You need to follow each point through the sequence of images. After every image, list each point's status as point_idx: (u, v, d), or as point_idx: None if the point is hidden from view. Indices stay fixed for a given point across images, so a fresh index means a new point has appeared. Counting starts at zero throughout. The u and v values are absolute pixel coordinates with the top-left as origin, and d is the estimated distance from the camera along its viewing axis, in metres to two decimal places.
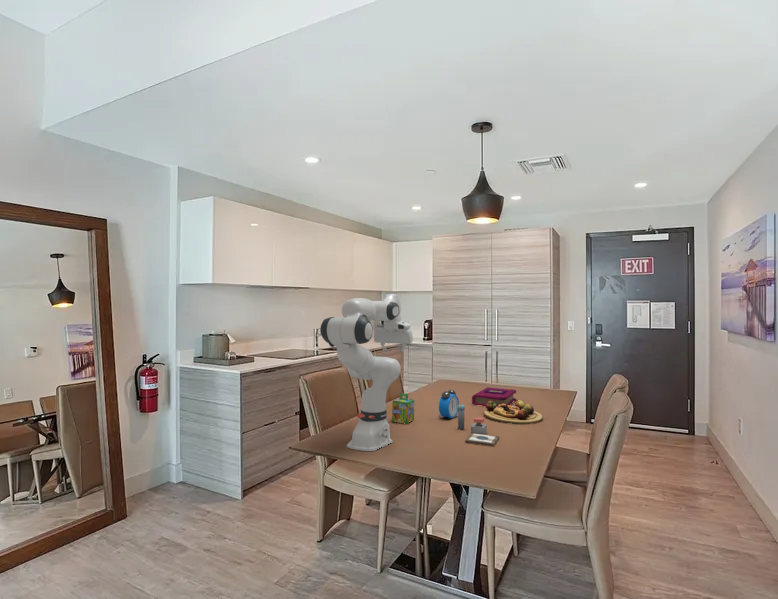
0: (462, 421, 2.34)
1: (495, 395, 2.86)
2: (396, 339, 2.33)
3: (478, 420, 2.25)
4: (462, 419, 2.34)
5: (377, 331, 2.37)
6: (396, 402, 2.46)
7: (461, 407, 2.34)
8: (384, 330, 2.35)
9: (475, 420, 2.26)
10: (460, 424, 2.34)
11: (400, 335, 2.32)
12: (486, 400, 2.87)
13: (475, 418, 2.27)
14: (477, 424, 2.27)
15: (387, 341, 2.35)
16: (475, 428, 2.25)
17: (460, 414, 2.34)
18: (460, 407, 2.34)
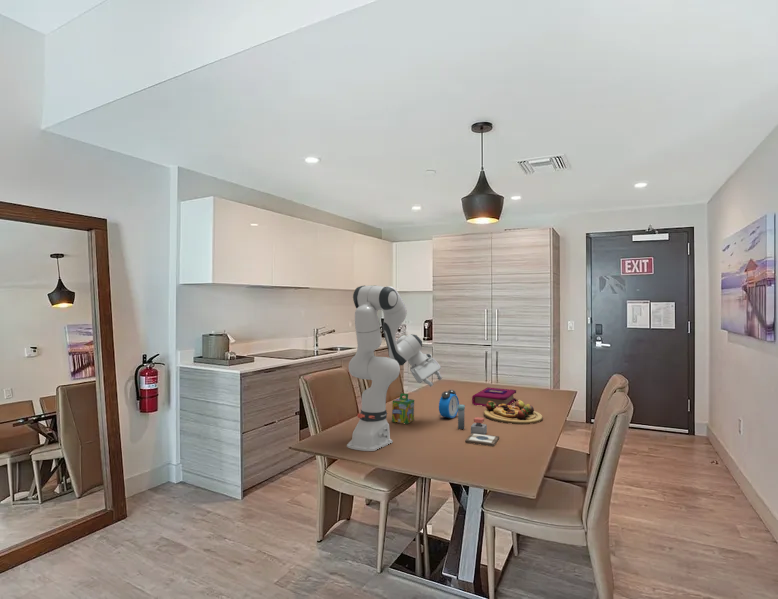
0: (462, 421, 2.34)
1: (495, 395, 2.86)
2: (432, 369, 2.44)
3: (478, 420, 2.25)
4: (462, 419, 2.34)
5: (417, 369, 2.37)
6: (396, 402, 2.46)
7: (461, 407, 2.34)
8: (420, 366, 2.40)
9: (475, 420, 2.26)
10: (460, 424, 2.34)
11: (431, 364, 2.46)
12: (486, 400, 2.87)
13: (475, 418, 2.27)
14: (477, 424, 2.27)
15: (429, 373, 2.40)
16: (475, 428, 2.25)
17: (460, 414, 2.34)
18: (460, 407, 2.34)
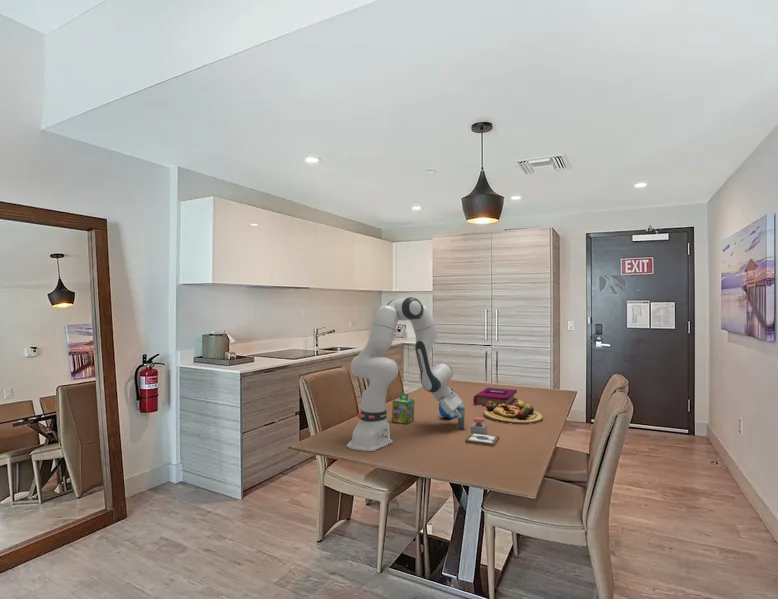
0: (462, 421, 2.34)
1: (497, 395, 2.86)
2: (457, 402, 2.39)
3: (478, 420, 2.25)
4: (462, 419, 2.34)
5: (446, 400, 2.31)
6: (396, 402, 2.46)
7: (461, 407, 2.34)
8: (447, 398, 2.34)
9: (475, 420, 2.26)
10: (460, 424, 2.34)
11: (455, 398, 2.41)
12: (488, 400, 2.86)
13: (475, 418, 2.27)
14: (477, 424, 2.27)
15: (456, 406, 2.34)
16: (475, 428, 2.25)
17: None
18: (460, 407, 2.34)
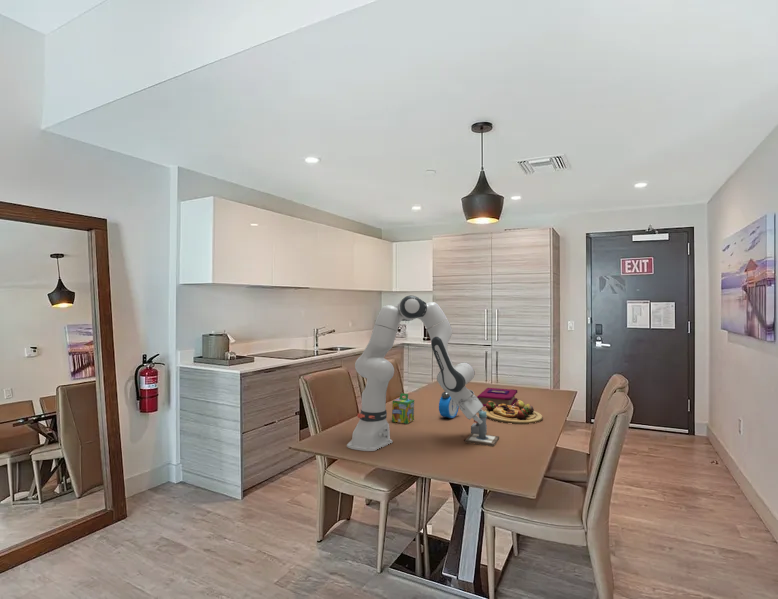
0: (484, 429, 2.14)
1: (499, 395, 2.85)
2: (477, 406, 2.19)
3: None
4: (484, 427, 2.14)
5: (466, 404, 2.11)
6: (396, 402, 2.46)
7: (483, 414, 2.14)
8: (468, 401, 2.15)
9: None
10: (481, 433, 2.15)
11: (475, 401, 2.22)
12: None
13: None
14: (477, 424, 2.27)
15: (477, 410, 2.15)
16: (475, 428, 2.25)
17: None
18: (481, 414, 2.14)
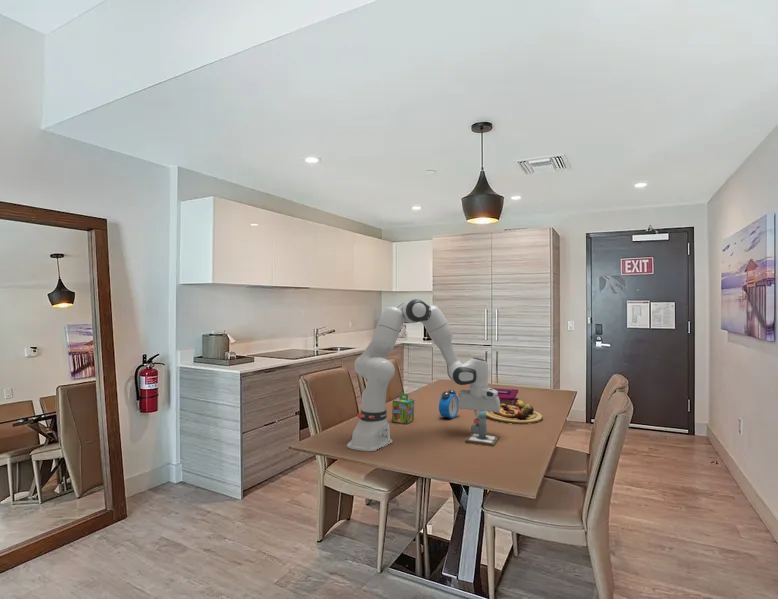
0: (483, 429, 2.15)
1: (502, 395, 2.85)
2: (483, 407, 2.25)
3: (478, 421, 2.25)
4: (483, 427, 2.15)
5: (463, 397, 2.29)
6: (396, 402, 2.46)
7: (482, 414, 2.14)
8: (470, 396, 2.27)
9: (475, 421, 2.26)
10: (481, 433, 2.15)
11: (488, 402, 2.24)
12: None
13: (475, 419, 2.27)
14: (477, 425, 2.27)
15: (473, 408, 2.27)
16: (475, 428, 2.25)
17: (481, 422, 2.15)
18: (481, 414, 2.14)
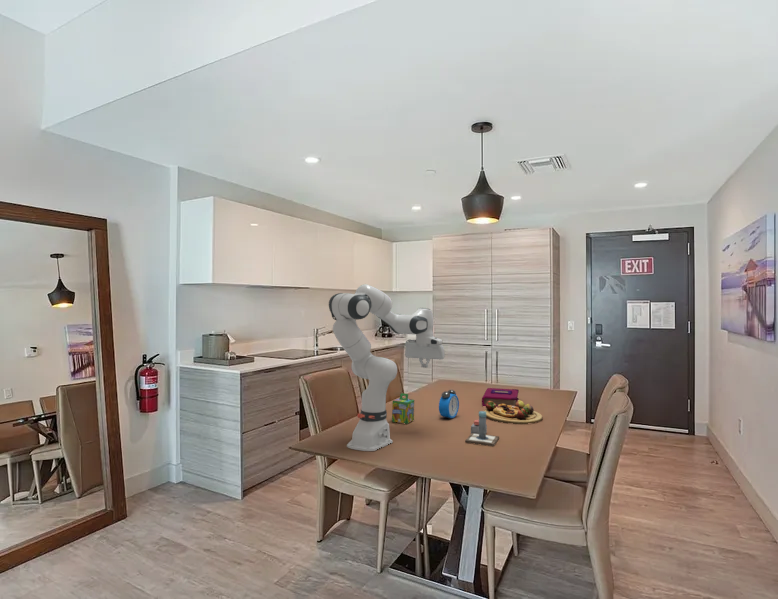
0: (483, 429, 2.15)
1: (505, 396, 2.85)
2: (428, 354, 2.32)
3: (478, 422, 2.25)
4: (483, 427, 2.15)
5: (409, 346, 2.36)
6: (396, 402, 2.46)
7: (482, 414, 2.14)
8: (416, 345, 2.35)
9: (475, 422, 2.26)
10: (481, 433, 2.15)
11: (432, 350, 2.31)
12: (496, 401, 2.84)
13: (475, 420, 2.27)
14: None
15: (419, 356, 2.34)
16: (475, 428, 2.25)
17: (481, 422, 2.15)
18: (481, 414, 2.14)
